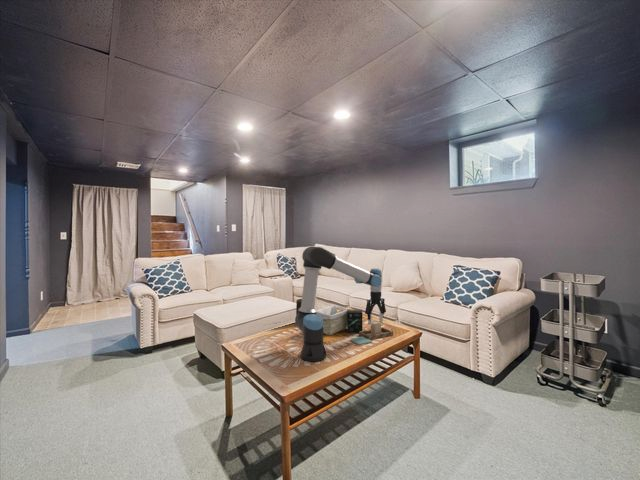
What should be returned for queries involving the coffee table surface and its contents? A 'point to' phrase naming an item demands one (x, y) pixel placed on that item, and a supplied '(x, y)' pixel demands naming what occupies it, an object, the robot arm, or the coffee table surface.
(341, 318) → the storage basket
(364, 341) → the teal pad
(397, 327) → the coffee table surface
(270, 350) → the coffee table surface
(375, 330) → the kraft box
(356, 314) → the tampon box
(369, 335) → the walnut bin
